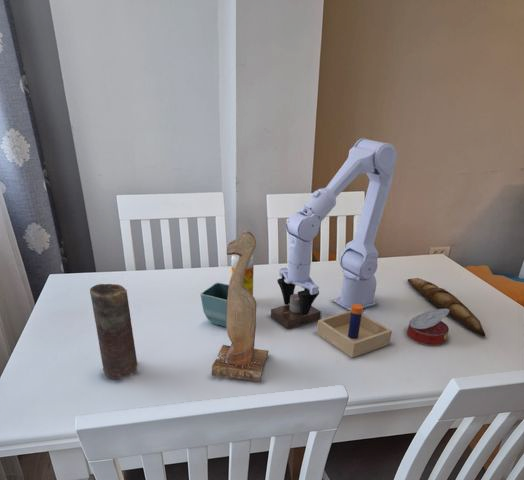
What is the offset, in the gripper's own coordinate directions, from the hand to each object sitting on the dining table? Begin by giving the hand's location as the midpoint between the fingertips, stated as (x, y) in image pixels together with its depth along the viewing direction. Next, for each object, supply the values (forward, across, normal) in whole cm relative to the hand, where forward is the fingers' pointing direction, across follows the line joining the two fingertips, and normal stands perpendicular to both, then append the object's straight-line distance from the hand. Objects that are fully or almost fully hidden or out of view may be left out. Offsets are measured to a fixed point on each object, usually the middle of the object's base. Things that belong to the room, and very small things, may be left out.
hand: (296, 308), depth 129 cm
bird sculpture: (+3, +13, -25) cm, 28 cm away
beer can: (+3, -15, -8) cm, 17 cm away
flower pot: (+3, -8, -18) cm, 20 cm away
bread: (+3, +16, +41) cm, 44 cm away
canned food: (+3, +25, +24) cm, 35 cm away
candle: (+3, +1, -49) cm, 49 cm away
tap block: (+3, 0, 0) cm, 3 cm away
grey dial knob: (0, 0, 0) cm, 0 cm away
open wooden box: (+3, +16, +6) cm, 18 cm away
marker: (+2, +16, +6) cm, 18 cm away
